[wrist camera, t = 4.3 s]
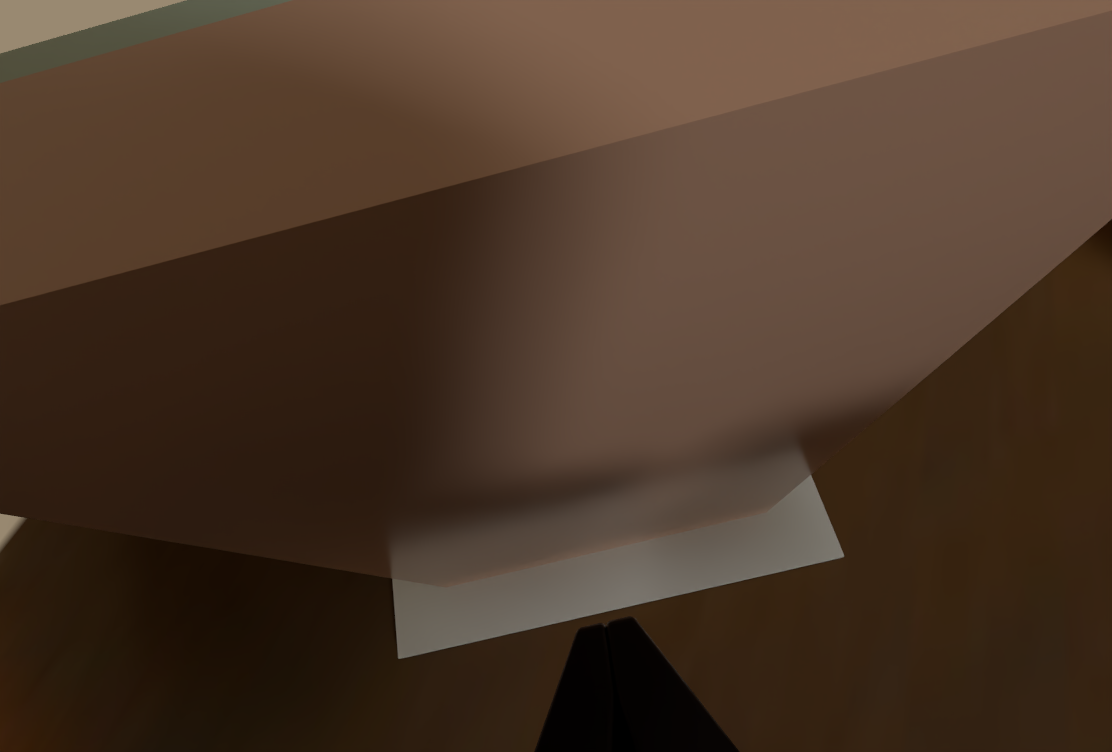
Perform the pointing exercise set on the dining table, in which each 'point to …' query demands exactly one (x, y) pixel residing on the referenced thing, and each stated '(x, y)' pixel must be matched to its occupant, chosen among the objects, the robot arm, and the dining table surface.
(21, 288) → the pink eraser
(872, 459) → the dining table surface
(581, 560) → the grey mat
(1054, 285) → the dining table surface
